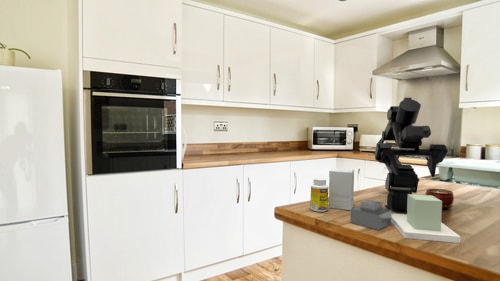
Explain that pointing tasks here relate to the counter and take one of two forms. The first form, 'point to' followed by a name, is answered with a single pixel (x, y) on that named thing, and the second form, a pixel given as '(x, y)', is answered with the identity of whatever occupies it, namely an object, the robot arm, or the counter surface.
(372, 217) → the dark grey block
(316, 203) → the supplement bottle
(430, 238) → the cutting board
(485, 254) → the counter surface
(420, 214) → the pale green block
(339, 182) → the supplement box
